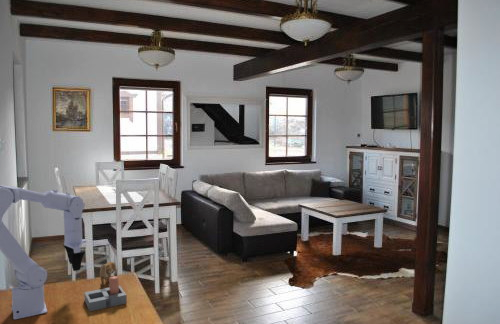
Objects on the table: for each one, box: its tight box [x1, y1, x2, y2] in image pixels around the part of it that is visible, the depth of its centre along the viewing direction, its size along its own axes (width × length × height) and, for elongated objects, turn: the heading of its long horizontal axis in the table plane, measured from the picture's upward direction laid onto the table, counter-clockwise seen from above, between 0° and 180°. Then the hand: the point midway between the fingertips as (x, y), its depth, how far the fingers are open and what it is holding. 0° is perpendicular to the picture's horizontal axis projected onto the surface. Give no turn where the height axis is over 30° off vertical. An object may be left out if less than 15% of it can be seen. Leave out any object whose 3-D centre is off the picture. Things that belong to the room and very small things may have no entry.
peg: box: [109, 275, 120, 295], centre depth 144 cm, size 3×3×8 cm
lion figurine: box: [98, 261, 118, 286], centre depth 159 cm, size 15×5×9 cm, turn 10°
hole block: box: [83, 285, 128, 312], centre depth 142 cm, size 12×9×3 cm
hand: (74, 266), depth 147 cm, fingers open, 7 cm apart
